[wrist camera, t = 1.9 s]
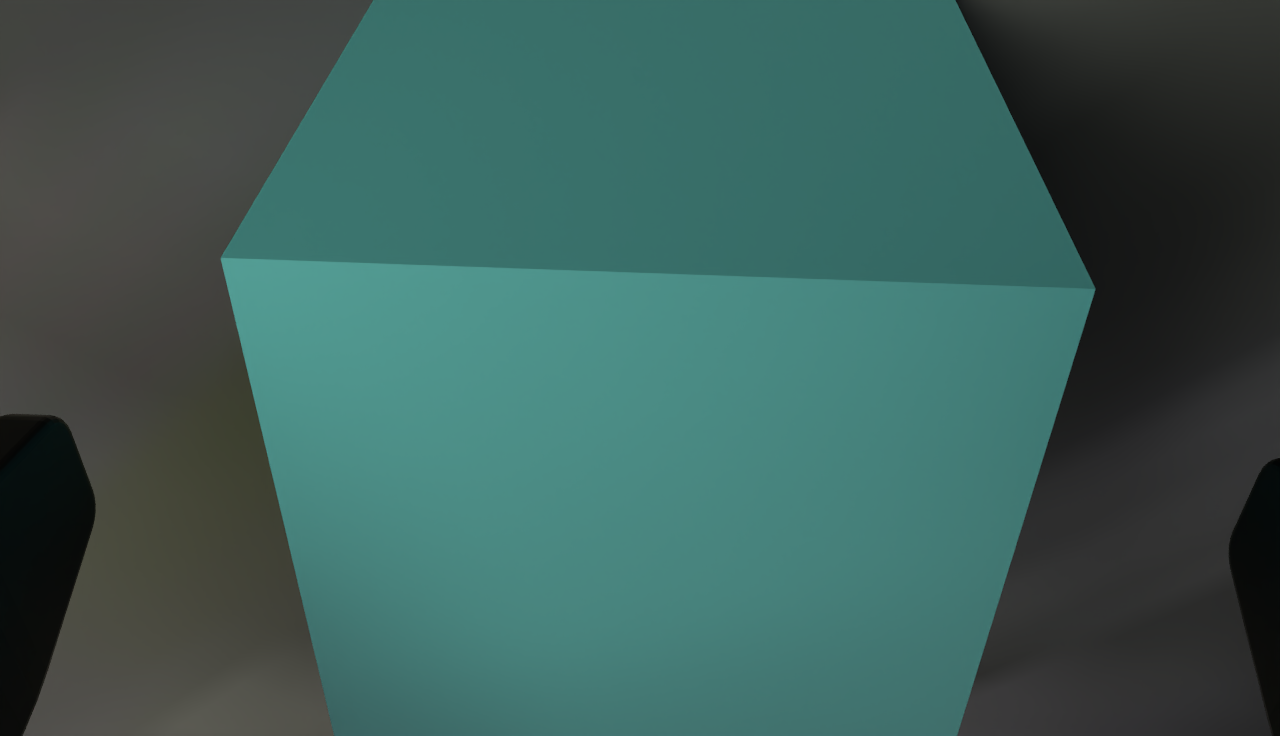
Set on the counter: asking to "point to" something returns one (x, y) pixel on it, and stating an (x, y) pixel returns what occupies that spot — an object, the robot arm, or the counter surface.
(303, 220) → the teal cube
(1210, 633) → the counter surface
